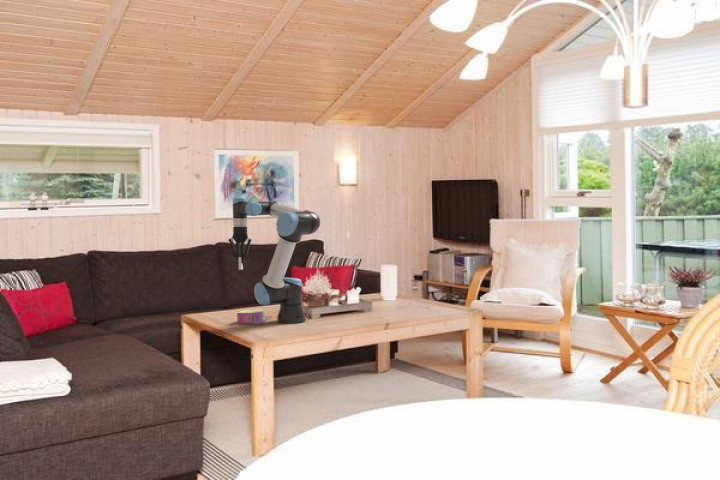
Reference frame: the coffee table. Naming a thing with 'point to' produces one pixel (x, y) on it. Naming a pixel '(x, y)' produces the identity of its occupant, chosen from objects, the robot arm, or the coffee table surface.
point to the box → (251, 316)
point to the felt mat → (259, 323)
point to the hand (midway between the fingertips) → (240, 269)
